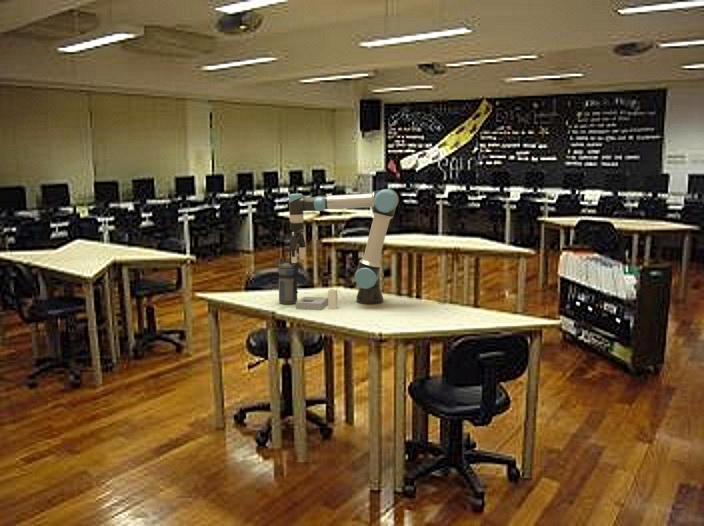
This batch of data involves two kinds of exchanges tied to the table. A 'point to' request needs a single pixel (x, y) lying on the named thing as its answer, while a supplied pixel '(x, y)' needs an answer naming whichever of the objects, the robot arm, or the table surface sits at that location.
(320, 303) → the grey block with hole
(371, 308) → the table surface
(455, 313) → the table surface
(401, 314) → the table surface
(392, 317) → the table surface
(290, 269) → the beverage bottle
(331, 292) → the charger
